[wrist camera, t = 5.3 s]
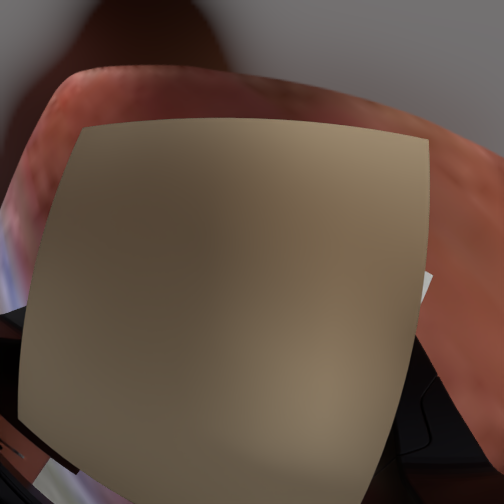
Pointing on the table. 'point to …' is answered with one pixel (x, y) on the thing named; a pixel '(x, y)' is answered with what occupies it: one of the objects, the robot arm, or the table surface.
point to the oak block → (227, 308)
